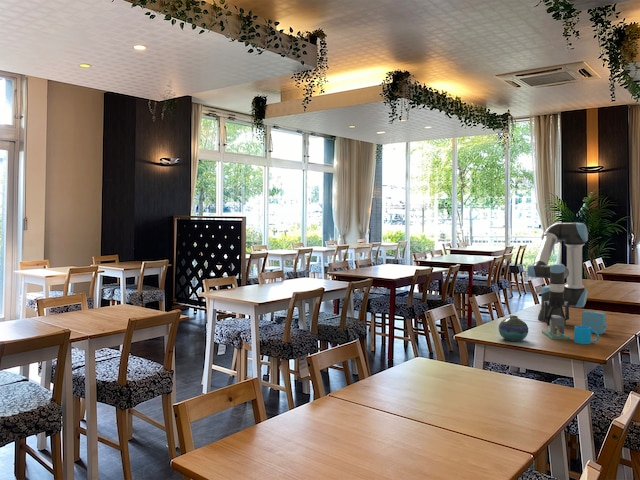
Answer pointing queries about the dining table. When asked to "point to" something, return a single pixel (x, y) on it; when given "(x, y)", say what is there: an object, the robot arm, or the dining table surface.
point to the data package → (594, 321)
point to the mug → (584, 335)
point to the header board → (556, 335)
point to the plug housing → (557, 323)
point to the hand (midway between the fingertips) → (555, 331)
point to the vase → (513, 329)
